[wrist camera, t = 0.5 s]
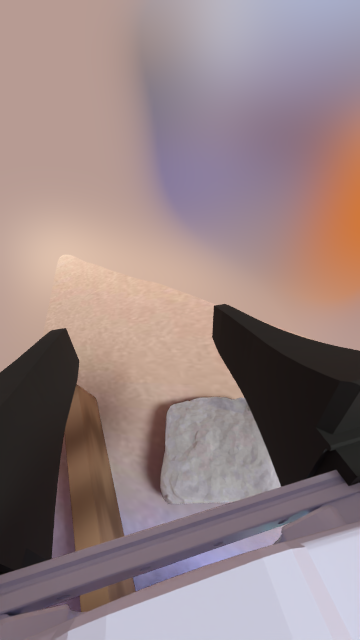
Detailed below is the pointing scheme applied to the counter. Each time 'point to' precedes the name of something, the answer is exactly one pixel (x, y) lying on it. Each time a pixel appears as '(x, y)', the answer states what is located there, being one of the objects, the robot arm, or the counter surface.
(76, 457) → the walnut wall
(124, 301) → the counter surface
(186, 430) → the stone block
